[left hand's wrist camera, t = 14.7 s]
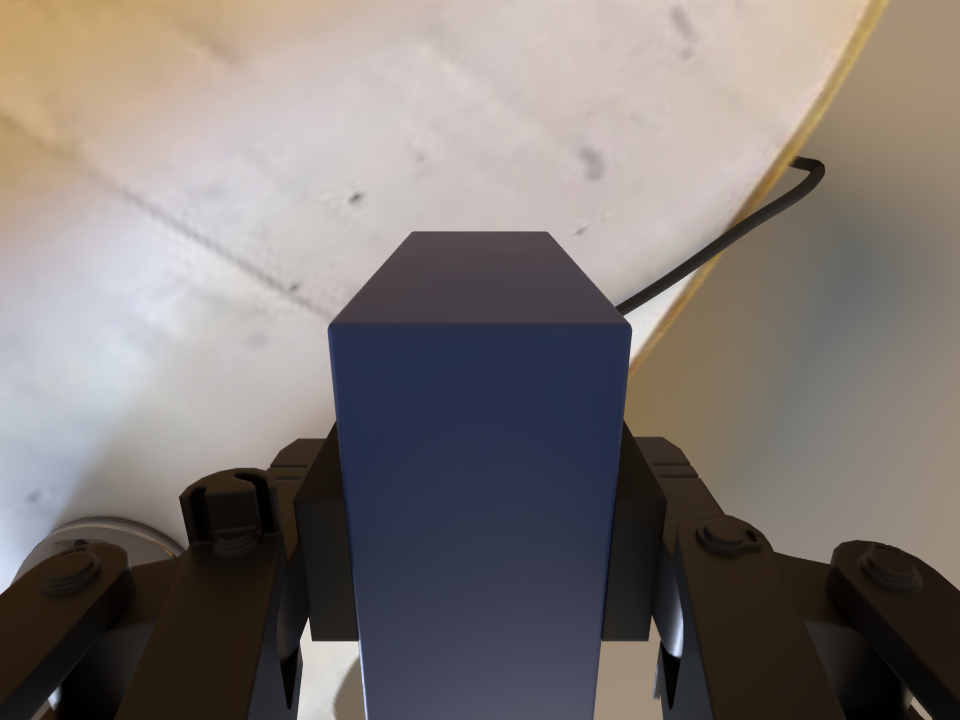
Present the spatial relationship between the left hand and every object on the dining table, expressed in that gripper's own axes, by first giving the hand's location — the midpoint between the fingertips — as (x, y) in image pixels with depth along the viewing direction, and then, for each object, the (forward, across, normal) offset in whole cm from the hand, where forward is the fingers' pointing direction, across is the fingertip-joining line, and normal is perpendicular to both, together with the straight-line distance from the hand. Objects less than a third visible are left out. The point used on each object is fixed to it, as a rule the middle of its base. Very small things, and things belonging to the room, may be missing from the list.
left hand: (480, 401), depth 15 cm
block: (+3, 0, 0) cm, 3 cm away
